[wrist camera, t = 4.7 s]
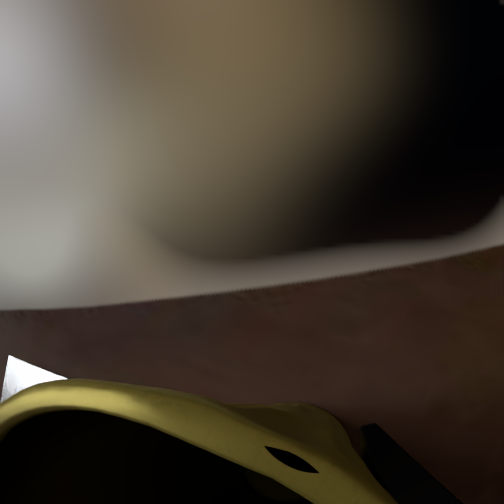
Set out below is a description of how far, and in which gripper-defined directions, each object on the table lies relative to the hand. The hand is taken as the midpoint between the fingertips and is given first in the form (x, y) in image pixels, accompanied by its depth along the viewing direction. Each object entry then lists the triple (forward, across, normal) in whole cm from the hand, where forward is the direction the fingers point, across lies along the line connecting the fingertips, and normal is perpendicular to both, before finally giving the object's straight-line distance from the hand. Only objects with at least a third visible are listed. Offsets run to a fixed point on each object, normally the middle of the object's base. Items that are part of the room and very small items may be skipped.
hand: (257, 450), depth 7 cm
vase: (+4, 0, +6) cm, 8 cm away
